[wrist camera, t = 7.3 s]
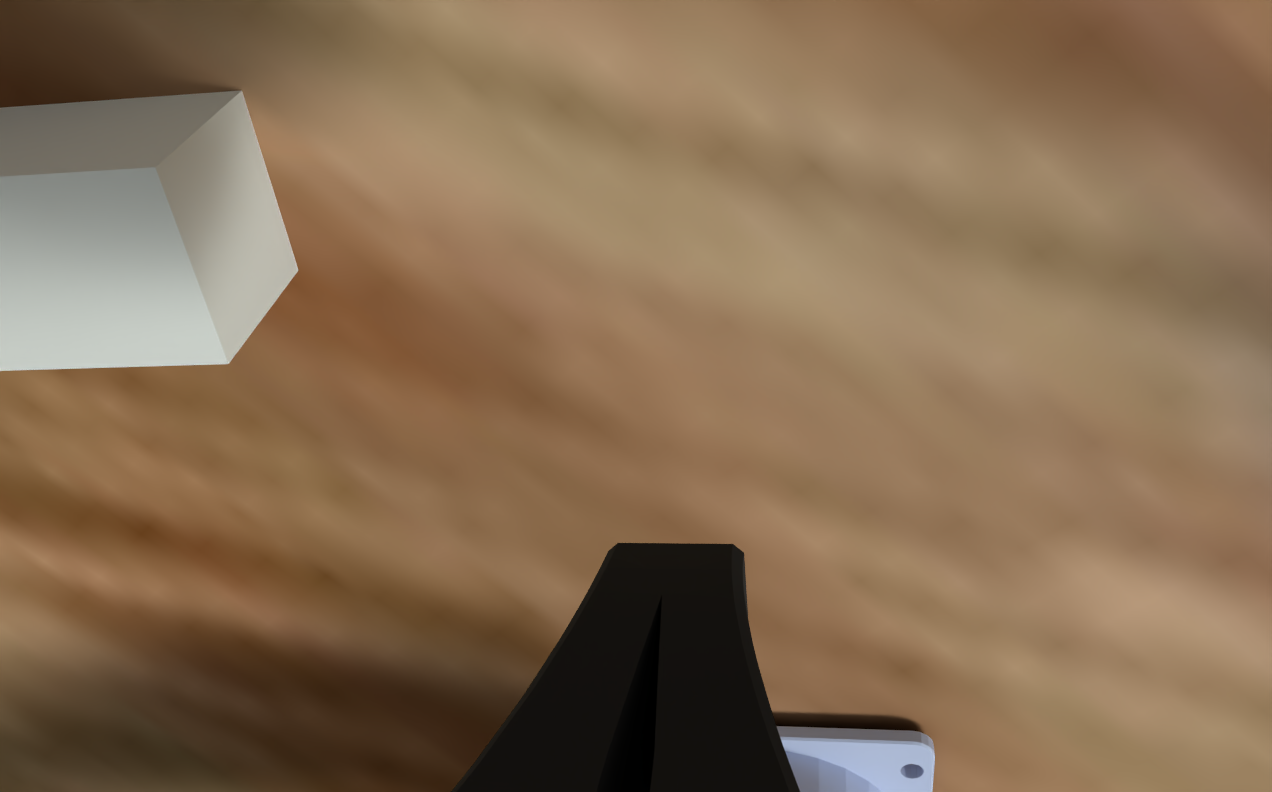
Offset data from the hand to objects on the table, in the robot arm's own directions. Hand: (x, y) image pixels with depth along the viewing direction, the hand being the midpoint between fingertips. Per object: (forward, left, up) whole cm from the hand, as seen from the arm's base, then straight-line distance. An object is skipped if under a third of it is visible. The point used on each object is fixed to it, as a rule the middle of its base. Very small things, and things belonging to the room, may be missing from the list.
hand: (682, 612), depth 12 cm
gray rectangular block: (+1, +14, -10) cm, 17 cm away
